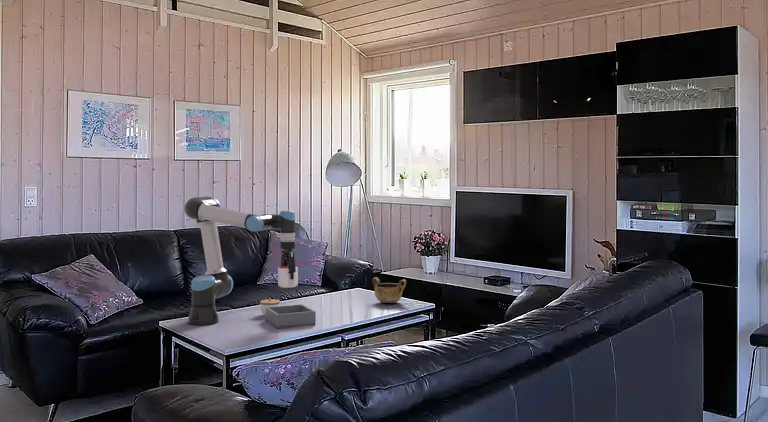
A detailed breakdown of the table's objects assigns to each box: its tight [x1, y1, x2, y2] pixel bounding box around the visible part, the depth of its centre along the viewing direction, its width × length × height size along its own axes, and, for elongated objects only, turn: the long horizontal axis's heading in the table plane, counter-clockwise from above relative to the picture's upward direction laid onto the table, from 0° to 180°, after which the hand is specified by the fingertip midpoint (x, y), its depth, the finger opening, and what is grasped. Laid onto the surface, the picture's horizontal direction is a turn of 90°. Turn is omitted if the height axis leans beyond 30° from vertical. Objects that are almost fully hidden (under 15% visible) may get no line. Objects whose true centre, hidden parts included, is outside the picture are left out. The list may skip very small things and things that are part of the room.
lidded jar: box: [259, 297, 281, 317], centre depth 355 cm, size 11×11×9 cm
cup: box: [277, 265, 299, 289], centre depth 336 cm, size 10×10×10 cm
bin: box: [265, 303, 317, 330], centre depth 338 cm, size 20×20×7 cm
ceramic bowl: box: [371, 277, 407, 304], centre depth 391 cm, size 22×17×15 cm
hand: (288, 284), depth 336 cm, fingers closed on cup, 10 cm apart
